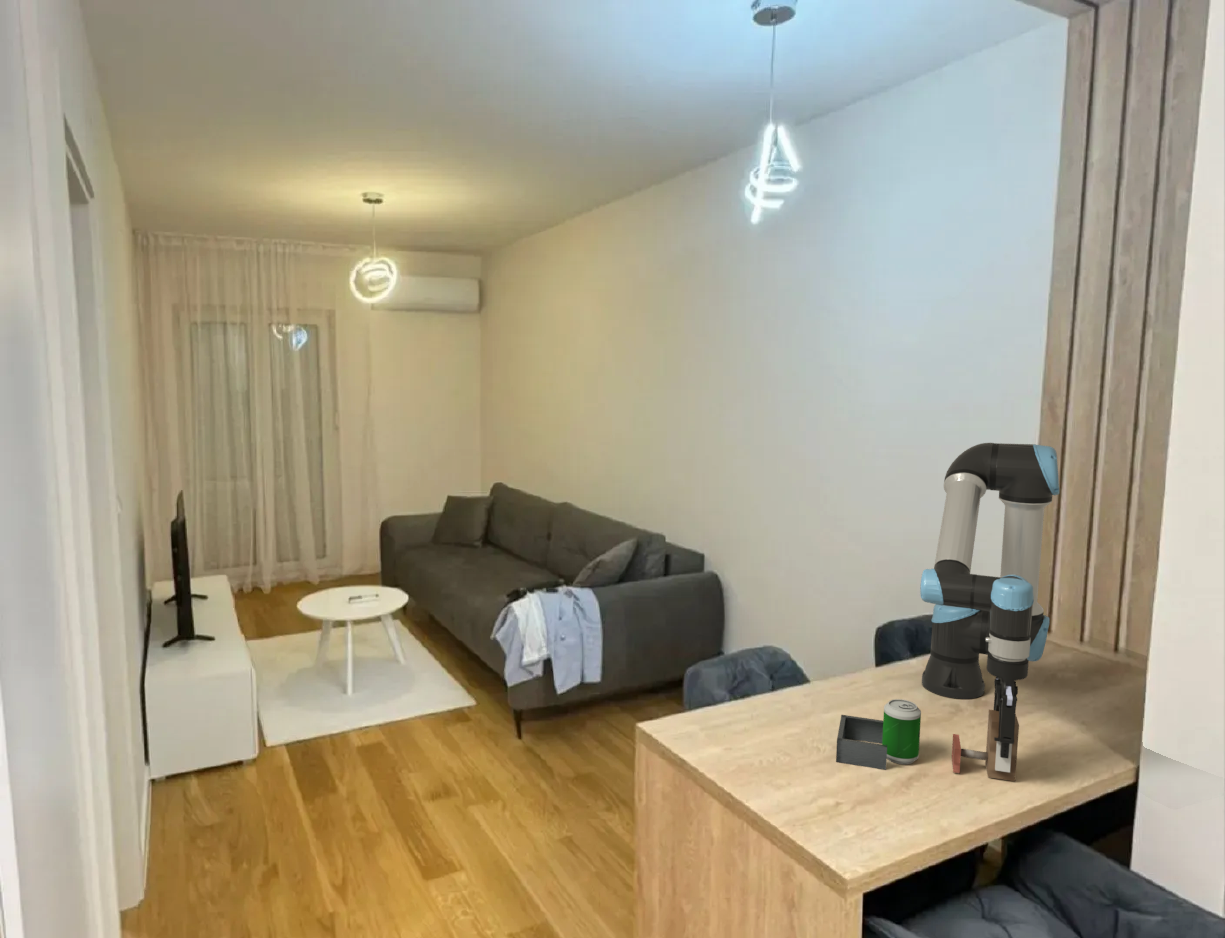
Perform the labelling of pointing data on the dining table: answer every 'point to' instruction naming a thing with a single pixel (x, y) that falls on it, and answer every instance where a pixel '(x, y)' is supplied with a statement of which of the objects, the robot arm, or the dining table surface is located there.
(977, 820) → the dining table surface
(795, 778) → the dining table surface
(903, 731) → the soda can
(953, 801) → the dining table surface
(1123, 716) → the dining table surface
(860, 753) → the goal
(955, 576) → the robot arm
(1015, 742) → the striker
